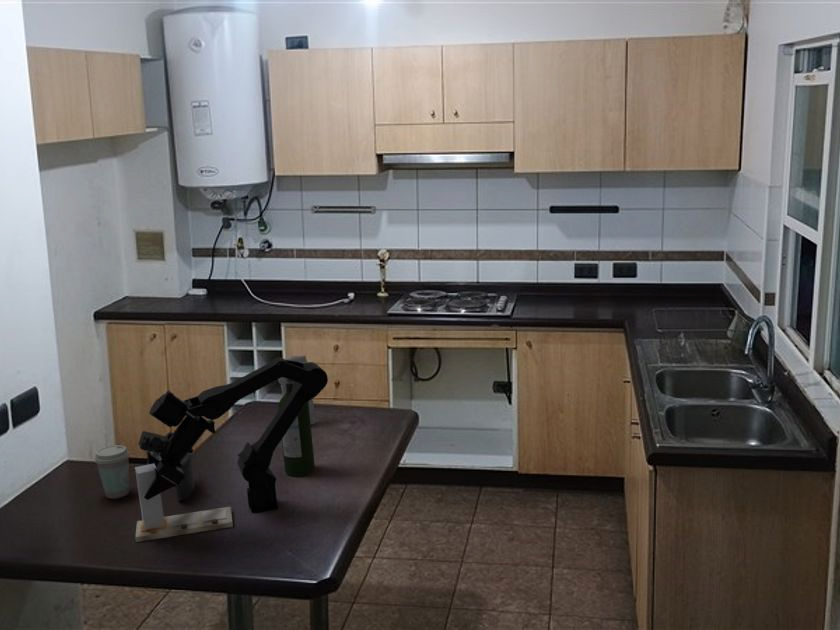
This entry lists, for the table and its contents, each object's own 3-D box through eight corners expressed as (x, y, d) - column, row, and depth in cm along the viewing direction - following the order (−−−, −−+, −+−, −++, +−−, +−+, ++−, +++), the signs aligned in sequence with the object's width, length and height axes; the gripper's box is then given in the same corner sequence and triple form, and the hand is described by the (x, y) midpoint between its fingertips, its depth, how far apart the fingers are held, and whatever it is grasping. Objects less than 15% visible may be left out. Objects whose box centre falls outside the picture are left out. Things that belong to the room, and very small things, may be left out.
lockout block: (162, 518, 233) (154, 463, 229) (164, 525, 228) (157, 469, 225) (142, 522, 231) (134, 467, 228) (145, 530, 227) (137, 473, 224)
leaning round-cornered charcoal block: (196, 500, 245) (191, 465, 243) (177, 503, 244) (172, 468, 242) (194, 476, 261) (189, 443, 258) (176, 479, 260) (172, 446, 257)
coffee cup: (124, 501, 248) (118, 457, 245) (94, 500, 249) (87, 456, 247) (140, 487, 256) (134, 444, 253) (110, 486, 258) (104, 444, 255)
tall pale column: (286, 432, 290) (278, 361, 284) (281, 428, 293) (273, 358, 288) (319, 424, 294) (312, 354, 289) (313, 420, 298) (307, 351, 293)
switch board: (231, 511, 238) (230, 504, 237) (232, 526, 229) (232, 519, 229) (137, 525, 233) (136, 518, 233) (136, 542, 224) (135, 534, 224)
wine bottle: (317, 464, 263) (307, 357, 256) (311, 476, 255) (300, 366, 248) (288, 465, 264) (277, 359, 257) (282, 477, 256) (270, 367, 249)
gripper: (150, 408, 234) (109, 460, 232) (163, 431, 217) (118, 488, 215) (188, 432, 238) (147, 484, 237) (203, 457, 222) (159, 513, 220)
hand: (142, 491), depth 227 cm, fingers open, 9 cm apart
